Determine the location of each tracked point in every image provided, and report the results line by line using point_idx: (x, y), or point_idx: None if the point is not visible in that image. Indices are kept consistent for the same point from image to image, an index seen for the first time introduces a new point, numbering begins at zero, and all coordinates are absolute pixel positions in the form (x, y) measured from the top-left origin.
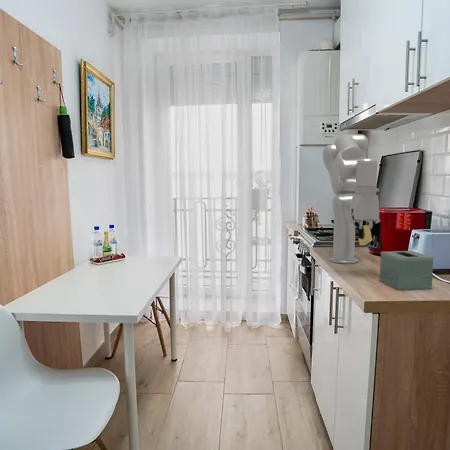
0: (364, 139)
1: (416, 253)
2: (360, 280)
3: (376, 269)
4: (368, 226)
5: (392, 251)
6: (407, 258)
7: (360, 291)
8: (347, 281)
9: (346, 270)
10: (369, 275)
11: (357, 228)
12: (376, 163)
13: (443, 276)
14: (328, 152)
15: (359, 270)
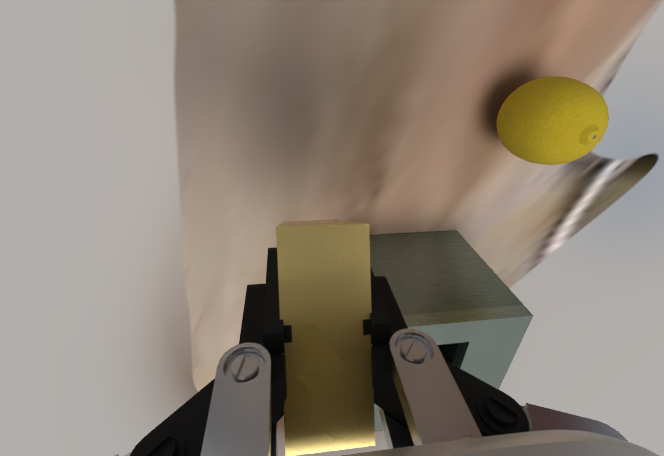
0: None
1: (494, 365)
2: (253, 229)
3: (450, 24)
4: (358, 435)
5: (423, 327)
6: (379, 429)
7: (203, 338)
8: (189, 239)
9: (252, 18)
10: (334, 155)
11: (237, 354)
12: None
13: (610, 200)
14: None
15: (336, 33)
